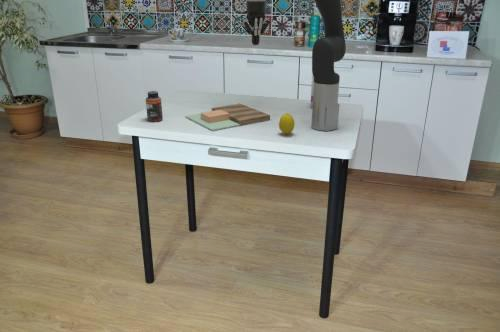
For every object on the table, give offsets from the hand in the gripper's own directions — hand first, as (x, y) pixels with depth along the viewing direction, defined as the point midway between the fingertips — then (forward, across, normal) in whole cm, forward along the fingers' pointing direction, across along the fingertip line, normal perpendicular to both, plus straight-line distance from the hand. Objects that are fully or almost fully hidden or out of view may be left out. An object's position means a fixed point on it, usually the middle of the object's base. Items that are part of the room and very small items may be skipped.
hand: (255, 44), depth 193 cm
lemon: (+27, -11, -35) cm, 45 cm away
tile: (+26, -23, -6) cm, 36 cm away
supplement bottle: (+27, -42, +9) cm, 51 cm away
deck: (+27, -12, -6) cm, 30 cm away
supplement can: (+27, +24, -14) cm, 39 cm away
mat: (+27, -25, -6) cm, 37 cm away
